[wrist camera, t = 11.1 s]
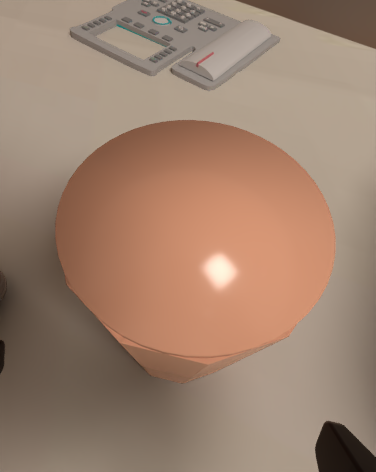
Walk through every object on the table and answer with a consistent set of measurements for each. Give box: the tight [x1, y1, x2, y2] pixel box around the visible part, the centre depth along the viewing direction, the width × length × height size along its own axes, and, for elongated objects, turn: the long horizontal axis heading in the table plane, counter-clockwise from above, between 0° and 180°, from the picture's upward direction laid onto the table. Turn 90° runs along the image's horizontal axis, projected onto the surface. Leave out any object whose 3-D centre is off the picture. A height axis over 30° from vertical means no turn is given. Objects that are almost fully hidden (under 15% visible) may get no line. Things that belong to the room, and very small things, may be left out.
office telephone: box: [70, 0, 280, 91], centre depth 37 cm, size 23×3×20 cm
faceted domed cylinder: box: [55, 120, 335, 384], centre depth 13 cm, size 7×7×12 cm
